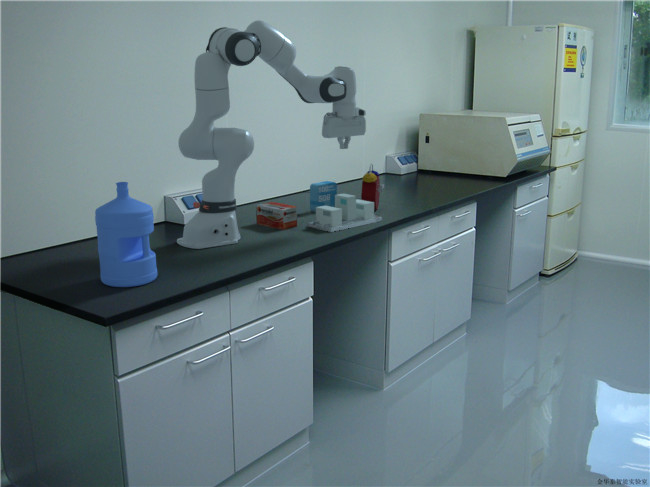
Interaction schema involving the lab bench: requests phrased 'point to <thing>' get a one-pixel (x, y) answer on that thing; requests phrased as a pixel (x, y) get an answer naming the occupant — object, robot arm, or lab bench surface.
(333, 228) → the din rail
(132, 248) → the water jug
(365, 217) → the block
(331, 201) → the blue printed box
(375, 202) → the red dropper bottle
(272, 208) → the medicine box
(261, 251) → the lab bench surface
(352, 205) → the block
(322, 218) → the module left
